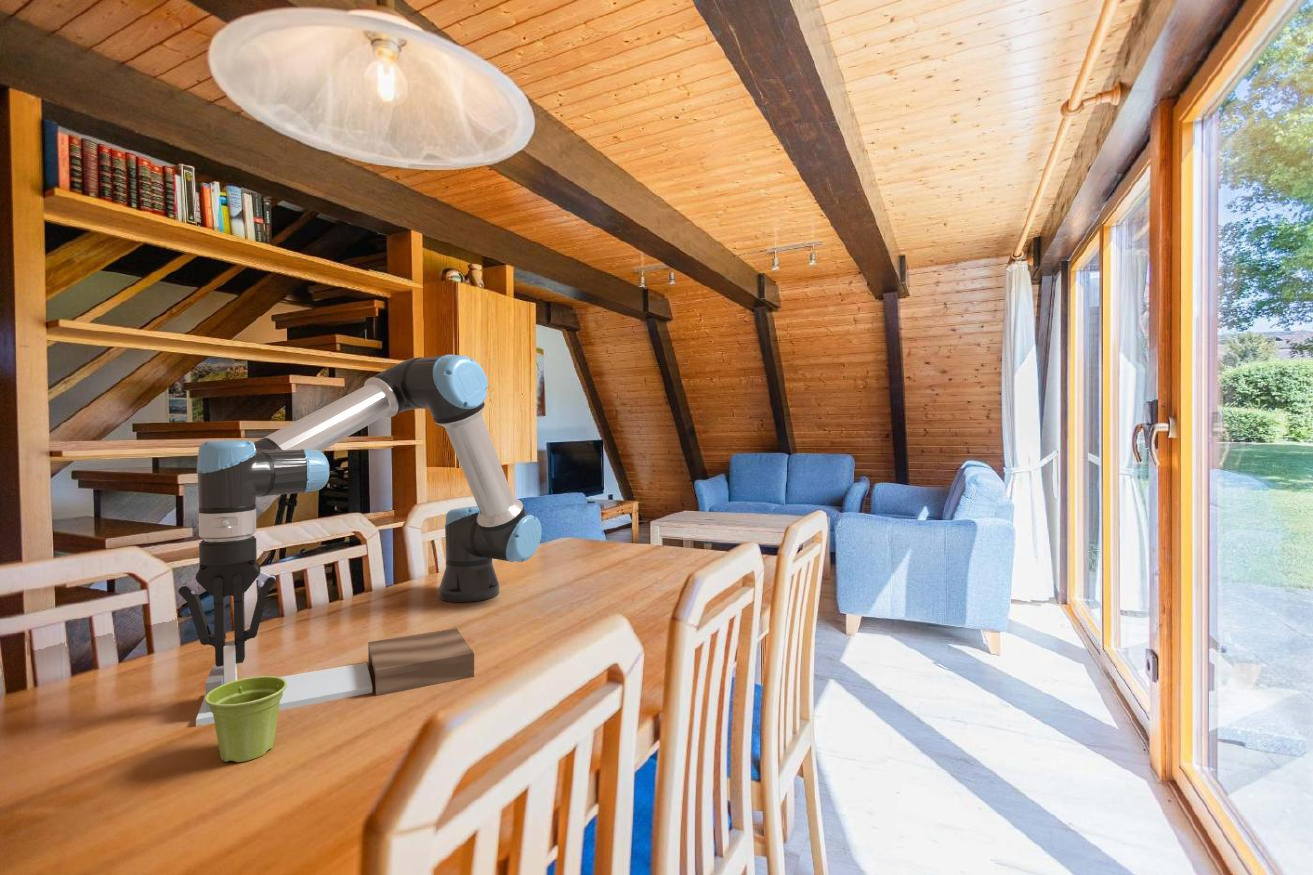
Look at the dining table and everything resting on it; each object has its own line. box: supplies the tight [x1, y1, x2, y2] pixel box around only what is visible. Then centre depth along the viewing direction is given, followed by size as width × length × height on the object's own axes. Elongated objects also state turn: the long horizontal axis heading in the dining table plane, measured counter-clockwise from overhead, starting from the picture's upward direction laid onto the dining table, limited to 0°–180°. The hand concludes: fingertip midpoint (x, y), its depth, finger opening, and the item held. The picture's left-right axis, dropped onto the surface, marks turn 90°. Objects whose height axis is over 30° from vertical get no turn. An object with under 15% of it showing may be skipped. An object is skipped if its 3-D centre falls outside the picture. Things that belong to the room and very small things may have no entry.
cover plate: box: [195, 662, 373, 727], centre depth 104 cm, size 12×24×6 cm, turn 119°
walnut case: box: [367, 628, 475, 696], centre depth 114 cm, size 15×16×4 cm
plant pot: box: [204, 675, 287, 763], centre depth 86 cm, size 9×9×9 cm
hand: (230, 683), depth 100 cm, fingers closed
